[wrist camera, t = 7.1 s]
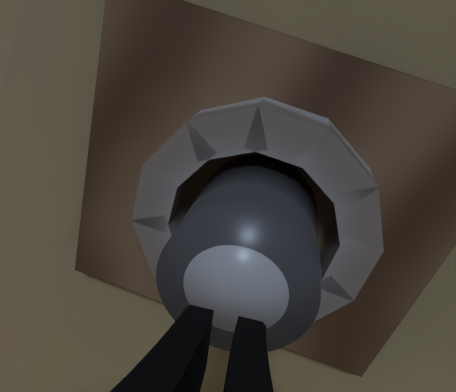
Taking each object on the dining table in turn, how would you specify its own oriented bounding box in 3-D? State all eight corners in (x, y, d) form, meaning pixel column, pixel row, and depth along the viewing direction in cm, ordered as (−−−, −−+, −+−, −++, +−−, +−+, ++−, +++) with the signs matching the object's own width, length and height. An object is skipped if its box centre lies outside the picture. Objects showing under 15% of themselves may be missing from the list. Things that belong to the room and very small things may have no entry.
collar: (528, 113, 13) (585, 134, 10) (358, 360, 19) (367, 413, 17) (120, -20, 14) (77, -32, 11) (85, 259, 20) (51, 294, 18)
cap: (329, 167, 14) (340, 238, 9) (302, 268, 16) (301, 370, 11) (207, 145, 15) (158, 201, 10) (197, 246, 17) (153, 333, 12)
